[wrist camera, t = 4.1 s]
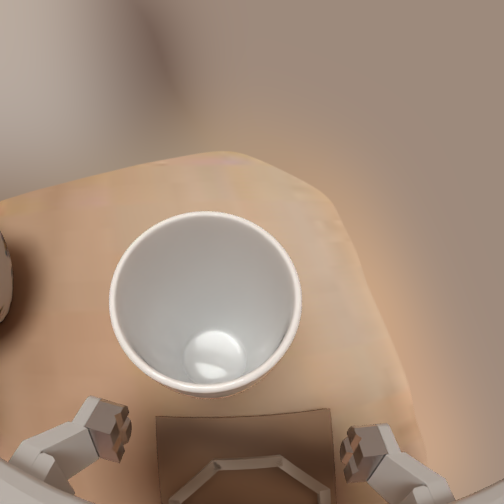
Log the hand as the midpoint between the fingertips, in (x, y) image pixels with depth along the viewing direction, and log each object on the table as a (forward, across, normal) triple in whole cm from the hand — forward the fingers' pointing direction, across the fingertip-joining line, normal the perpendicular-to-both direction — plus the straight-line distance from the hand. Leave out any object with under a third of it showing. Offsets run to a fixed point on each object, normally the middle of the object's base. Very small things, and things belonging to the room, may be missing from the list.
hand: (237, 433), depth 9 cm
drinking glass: (+12, +2, +6) cm, 14 cm away
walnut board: (+2, -2, +16) cm, 16 cm away
